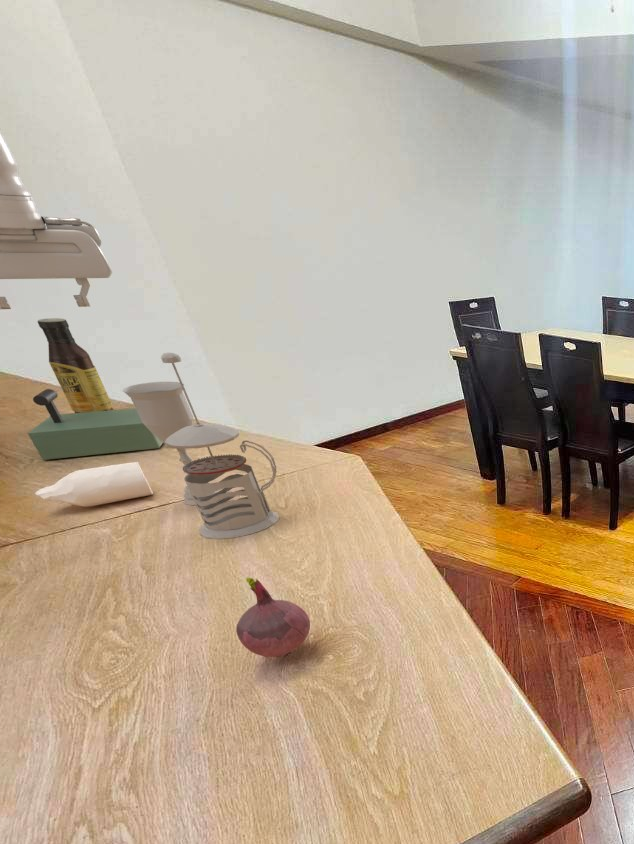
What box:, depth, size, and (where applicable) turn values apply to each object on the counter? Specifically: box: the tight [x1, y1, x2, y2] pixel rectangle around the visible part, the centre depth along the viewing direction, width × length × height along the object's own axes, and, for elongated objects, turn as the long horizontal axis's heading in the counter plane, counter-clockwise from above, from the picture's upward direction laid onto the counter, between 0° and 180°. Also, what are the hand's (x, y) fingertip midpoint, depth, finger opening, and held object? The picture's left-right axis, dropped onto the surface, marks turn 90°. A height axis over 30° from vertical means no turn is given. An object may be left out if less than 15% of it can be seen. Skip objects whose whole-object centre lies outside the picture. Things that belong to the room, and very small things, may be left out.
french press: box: [160, 352, 280, 540], centre depth 83 cm, size 10×12×25 cm
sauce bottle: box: [37, 317, 114, 413], centre depth 123 cm, size 7×6×20 cm
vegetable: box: [235, 577, 311, 658], centre depth 61 cm, size 6×6×10 cm
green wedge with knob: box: [27, 388, 164, 461], centre depth 111 cm, size 16×12×10 cm
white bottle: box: [34, 461, 154, 508], centre depth 91 cm, size 6×12×6 cm, turn 136°
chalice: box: [122, 381, 220, 506], centre depth 91 cm, size 7×7×18 cm
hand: (45, 307), depth 101 cm, fingers open, 8 cm apart
